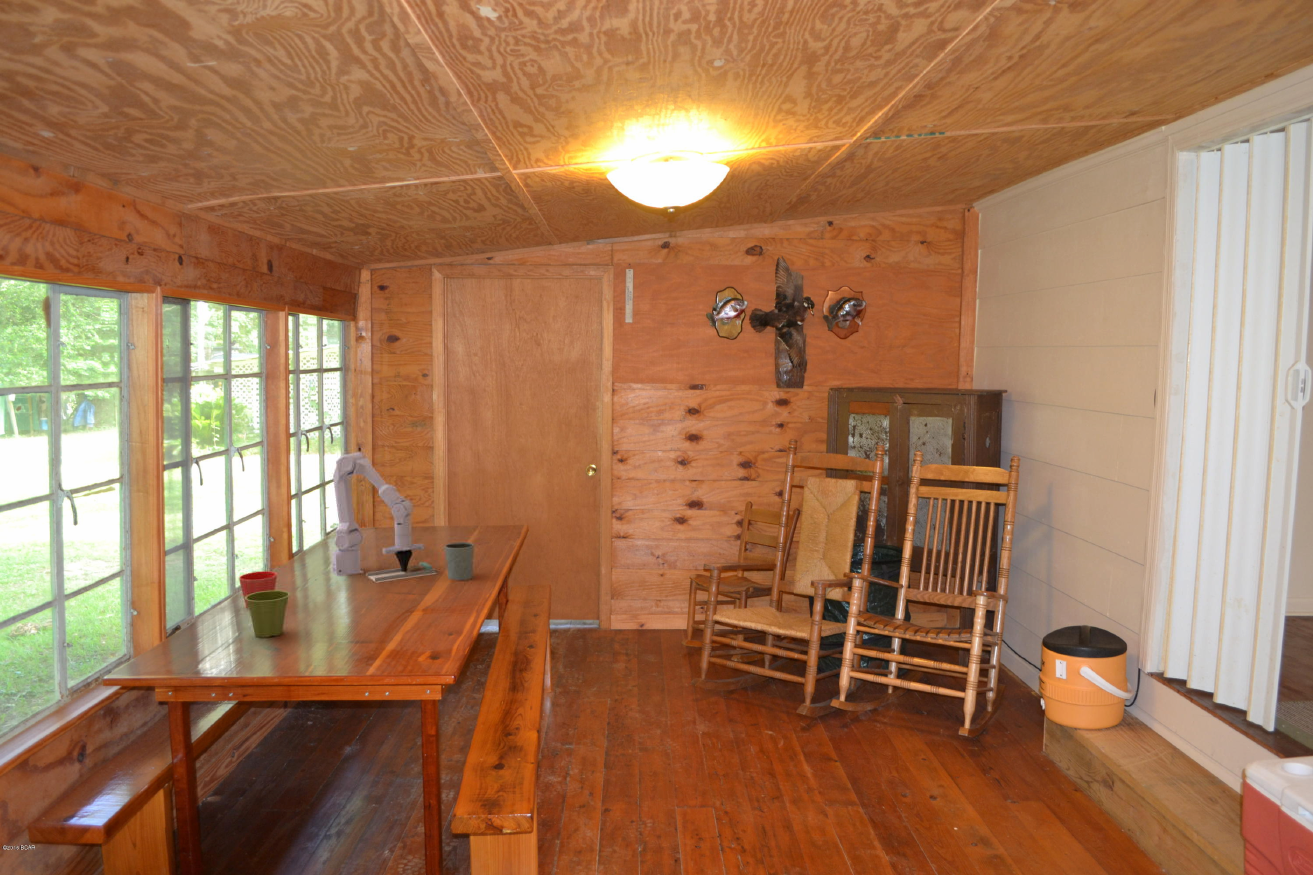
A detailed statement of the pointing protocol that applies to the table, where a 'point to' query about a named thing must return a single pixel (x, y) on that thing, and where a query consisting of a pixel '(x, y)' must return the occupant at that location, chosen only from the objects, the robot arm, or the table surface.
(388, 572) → the track
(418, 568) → the block
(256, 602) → the plant pot
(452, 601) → the table surface
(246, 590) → the flower pot
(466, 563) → the grey tapered pot
